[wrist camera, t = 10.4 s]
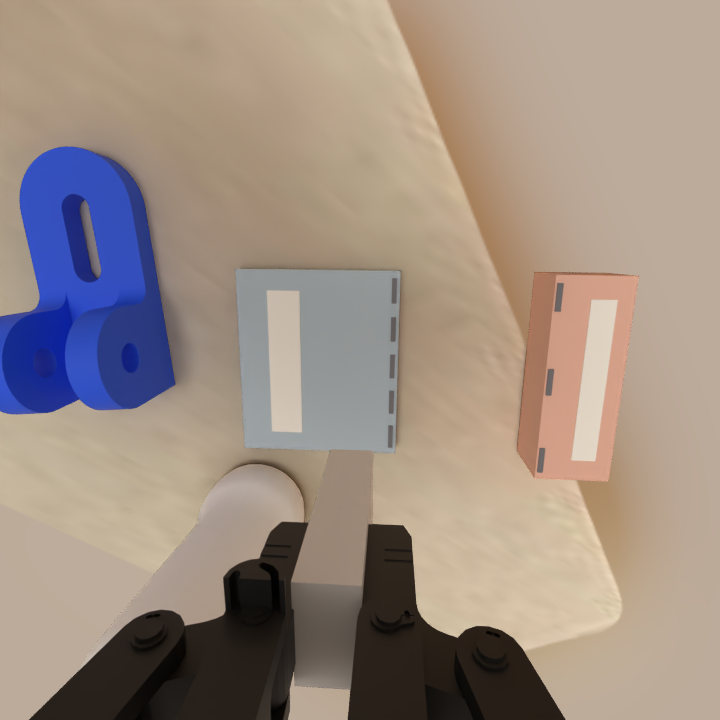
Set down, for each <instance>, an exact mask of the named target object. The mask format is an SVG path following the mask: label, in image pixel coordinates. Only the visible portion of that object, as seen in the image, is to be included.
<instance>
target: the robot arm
mask: <svg viewBox="0 0 720 720" xmlns="http://www.w3.org/2000/svg"><path fill="white" fill-rule="evenodd" d="M372 516H373V451H368V450H338V449H331V450H330V454H329V457H328V460H327V464H326V467H325V470H324V474H323V477H322V480H321V483H320V487H319V490H318V493H317V497H316V500H315V503H314V507H313V510H312V513H311V517H310V520H309V523H304V522H281V523H279V524H278V525H277V526H276V527H275V528H274V529H273V530H272V531H271V532H270V533H269V536H268V538H267V540H266V543H265V547H263V550H262V552H261V554H260V557H259V559H250V560H247V561H244V562H241V563H239V564H237V565H236V566H234V567H232V568H231V569H229V571H228V572H227V573H226V574H225V576H224V577H223V584H224V597H225V613H224V615H222V616H220V617H218V618H216V619H212V620H209V621H205V622H201V623H196V624H191V625H186V626H185V624H184V621H183V619H182V617H181V615H179V614H177V613H176V612H174V611H171V610H156V611H151V612H147V613H145V614H143V615H141V616H138V617H136V618H134V619H133V620H132V621H130V622H129V623H128V624H126V625H125V626H124V627H123V628H122V629H121V630H120V631H119V632H118V633H117V634H116V635H115V636H114V637H113V638H112V639H111V640H110V641H109V642H108V643H107V644H106V645H105V646H104V647H102V648H101V649H100V650H99V651H98V652H97V653H96V654H95V655H94V656H93V657H92V658H91V659H90V660H89V661H88V662H87V663H86V664H85V665H84V666H83V667H82V668H81V669H80V670H79V671H78V672H77V673H76V674H75V675H74V676H73V677H72V678H71V679H70V680H69V681H68V682H67V683H66V684H65V685H64V686H63V687H62V688H61V689H60V690H59V691H58V692H57V693H56V694H55V695H54V696H53V697H52V698H51V699H50V700H49V701H48V702H47V703H46V704H45V705H44V706H43V707H42V708H41V709H39V710H38V711H37V712H36V713H35V714H34V716H32V717H31V718H30V719H29V720H288V716H289V712H290V691H289V690H290V685H291V681H292V677H293V672H294V682H295V683H294V684H295V686H303V687H318V688H334V689H349V690H350V701H349V712H348V720H565V718H564V717H563V715H562V713H561V711H560V710H559V708H558V707H557V705H556V703H555V702H554V700H553V698H552V697H551V695H550V693H549V692H548V690H547V689H546V687H545V685H544V684H543V682H542V680H541V679H540V677H539V675H538V674H537V672H536V670H535V669H534V667H533V666H532V664H531V662H530V661H529V659H528V657H527V656H526V654H525V652H524V651H523V649H522V648H521V647H520V645H519V644H518V643H517V642H516V641H515V640H514V638H512V637H511V636H509V635H508V634H506V633H505V632H503V631H501V630H498V629H495V628H492V627H489V626H475V627H472V628H469V629H467V630H465V631H464V632H463V633H462V634H461V635H460V636H459V637H458V638H457V637H454V636H451V635H448V634H445V633H443V632H440V631H438V630H436V629H434V628H433V627H432V626H430V625H429V624H427V622H426V621H425V620H424V619H423V618H422V617H421V615H420V613H419V612H418V609H417V604H416V593H415V579H414V566H413V552H412V538H411V536H410V534H409V533H408V531H407V530H406V529H405V527H404V526H403V525H380V524H372Z"/></svg>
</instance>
